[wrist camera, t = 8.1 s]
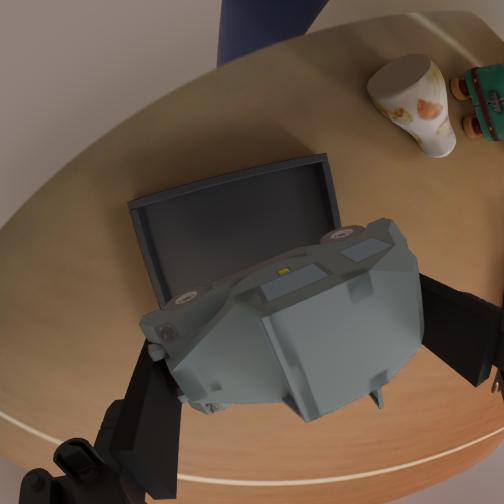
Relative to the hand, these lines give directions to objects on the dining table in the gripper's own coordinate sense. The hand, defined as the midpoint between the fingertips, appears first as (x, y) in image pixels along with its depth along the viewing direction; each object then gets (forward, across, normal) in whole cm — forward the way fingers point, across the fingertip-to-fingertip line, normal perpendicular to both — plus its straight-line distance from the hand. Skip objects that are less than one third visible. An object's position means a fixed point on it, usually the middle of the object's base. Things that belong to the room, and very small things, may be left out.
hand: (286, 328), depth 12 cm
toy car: (0, 0, 0) cm, 0 cm away
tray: (+12, 0, 0) cm, 12 cm away
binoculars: (+12, +31, +11) cm, 35 cm away
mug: (+12, +18, +10) cm, 24 cm away
